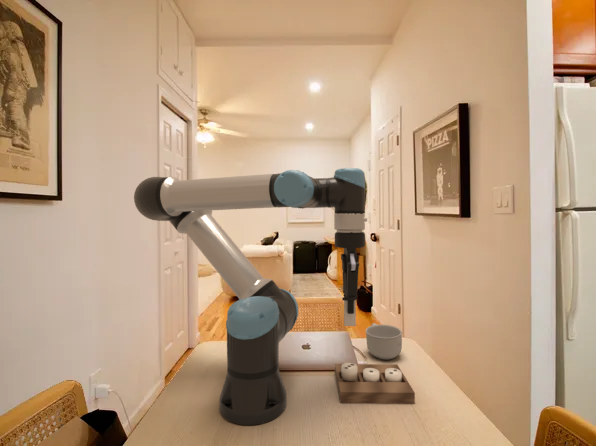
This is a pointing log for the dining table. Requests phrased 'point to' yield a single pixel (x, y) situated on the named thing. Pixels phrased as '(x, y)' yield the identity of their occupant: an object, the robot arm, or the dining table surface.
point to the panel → (373, 387)
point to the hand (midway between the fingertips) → (349, 325)
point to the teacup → (384, 341)
